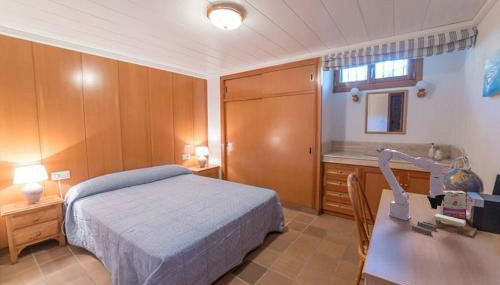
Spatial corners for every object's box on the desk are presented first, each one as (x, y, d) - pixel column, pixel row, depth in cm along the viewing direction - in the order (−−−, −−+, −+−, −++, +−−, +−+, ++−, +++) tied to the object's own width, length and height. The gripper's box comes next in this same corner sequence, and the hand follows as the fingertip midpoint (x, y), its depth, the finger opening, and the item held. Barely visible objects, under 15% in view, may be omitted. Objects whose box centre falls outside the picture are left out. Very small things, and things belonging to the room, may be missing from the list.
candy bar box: (462, 216, 128) (462, 190, 127) (466, 220, 123) (467, 193, 122) (439, 214, 132) (439, 189, 131) (443, 217, 128) (443, 191, 127)
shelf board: (465, 224, 112) (465, 220, 112) (463, 226, 109) (463, 223, 109) (436, 216, 122) (436, 213, 122) (434, 219, 119) (434, 215, 119)
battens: (412, 229, 115) (412, 226, 115) (418, 224, 120) (418, 221, 120) (430, 235, 108) (430, 231, 108) (436, 229, 114) (436, 226, 113)
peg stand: (422, 223, 121) (423, 218, 121) (429, 218, 127) (429, 213, 127) (472, 237, 105) (472, 231, 105) (476, 230, 111) (476, 225, 111)
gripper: (442, 187, 110) (441, 212, 111) (449, 183, 118) (449, 206, 119) (425, 185, 116) (425, 208, 117) (433, 180, 124) (433, 202, 125)
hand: (436, 207), depth 119 cm, fingers open, 7 cm apart
